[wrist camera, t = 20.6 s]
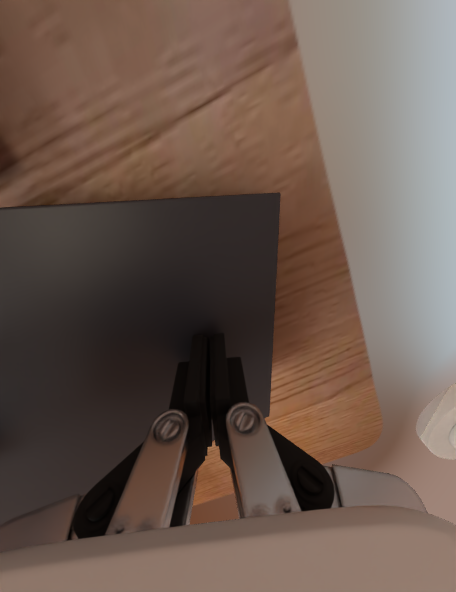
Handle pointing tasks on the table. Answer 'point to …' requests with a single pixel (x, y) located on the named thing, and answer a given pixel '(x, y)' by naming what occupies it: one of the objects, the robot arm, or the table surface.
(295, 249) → the table surface
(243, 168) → the table surface
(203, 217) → the lid
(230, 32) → the table surface
